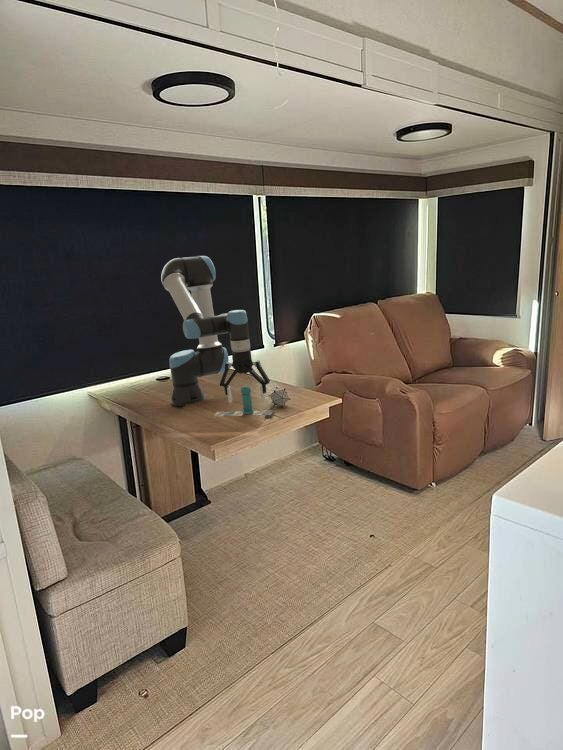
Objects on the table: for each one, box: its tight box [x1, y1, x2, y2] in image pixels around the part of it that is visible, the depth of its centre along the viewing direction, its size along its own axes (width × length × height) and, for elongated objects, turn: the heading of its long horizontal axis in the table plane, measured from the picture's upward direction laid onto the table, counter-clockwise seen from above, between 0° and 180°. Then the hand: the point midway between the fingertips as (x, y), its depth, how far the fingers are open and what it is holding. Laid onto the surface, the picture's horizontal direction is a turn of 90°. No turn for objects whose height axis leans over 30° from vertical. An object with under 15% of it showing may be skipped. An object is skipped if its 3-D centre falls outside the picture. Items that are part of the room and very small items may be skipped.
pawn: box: [240, 385, 254, 416], centre depth 201 cm, size 4×4×12 cm
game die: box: [267, 386, 291, 409], centre depth 211 cm, size 9×8×10 cm
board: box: [213, 409, 275, 419], centre depth 203 cm, size 24×6×1 cm, turn 81°
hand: (246, 401), depth 202 cm, fingers open, 13 cm apart
